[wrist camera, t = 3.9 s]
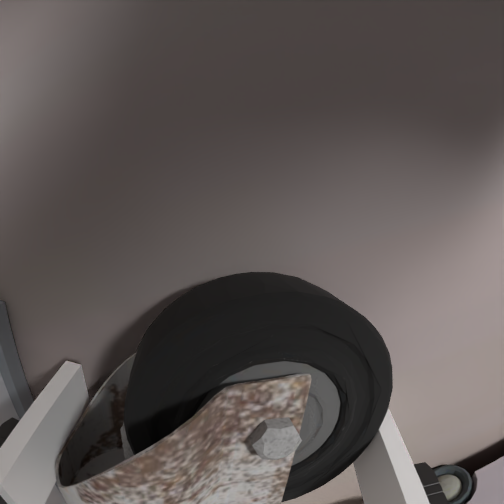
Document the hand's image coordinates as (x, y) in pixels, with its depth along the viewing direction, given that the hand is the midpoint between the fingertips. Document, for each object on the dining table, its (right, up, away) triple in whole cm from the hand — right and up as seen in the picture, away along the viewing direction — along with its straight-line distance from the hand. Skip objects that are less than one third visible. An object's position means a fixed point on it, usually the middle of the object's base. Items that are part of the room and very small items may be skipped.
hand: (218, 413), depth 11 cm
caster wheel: (0, +2, 0) cm, 2 cm away
